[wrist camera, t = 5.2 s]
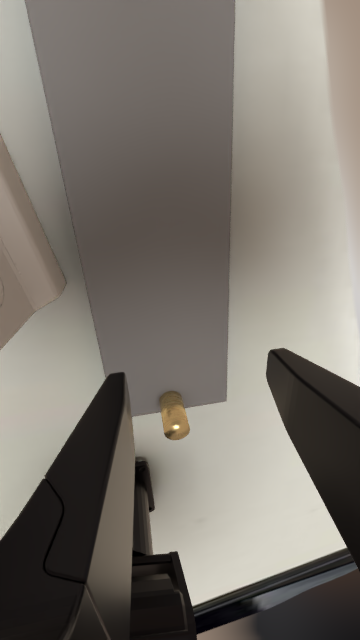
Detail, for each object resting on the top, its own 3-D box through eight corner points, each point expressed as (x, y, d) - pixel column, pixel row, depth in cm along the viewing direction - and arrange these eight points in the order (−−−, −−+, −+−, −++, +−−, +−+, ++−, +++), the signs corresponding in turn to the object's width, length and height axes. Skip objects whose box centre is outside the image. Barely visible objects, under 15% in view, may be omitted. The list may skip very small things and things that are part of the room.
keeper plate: (221, 389, 26) (238, 431, 22) (114, 407, 25) (114, 452, 22) (227, -71, 13) (266, -135, 10) (14, -72, 13) (-22, -141, 9)
